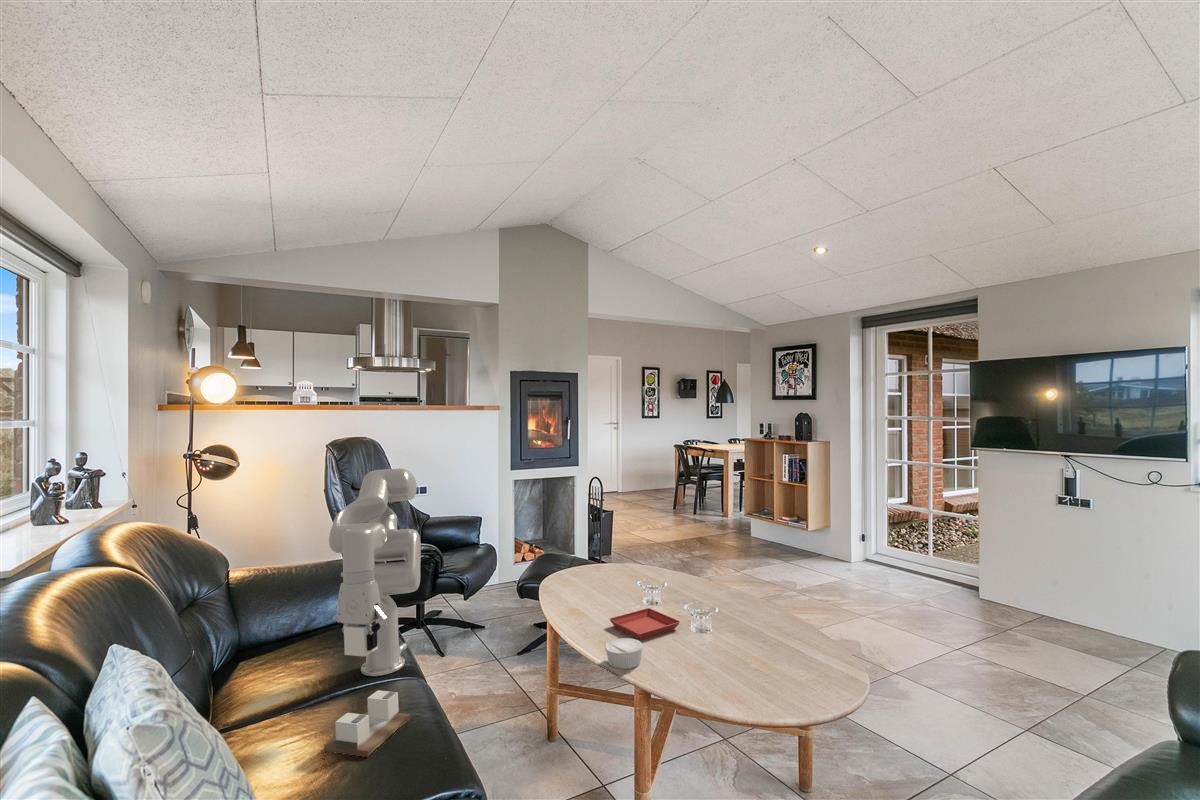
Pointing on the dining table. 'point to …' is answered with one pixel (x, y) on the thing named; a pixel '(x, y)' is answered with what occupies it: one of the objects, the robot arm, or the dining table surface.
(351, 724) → the mounted modules
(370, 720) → the board
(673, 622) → the plant saucer
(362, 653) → the block
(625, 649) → the ramekin
